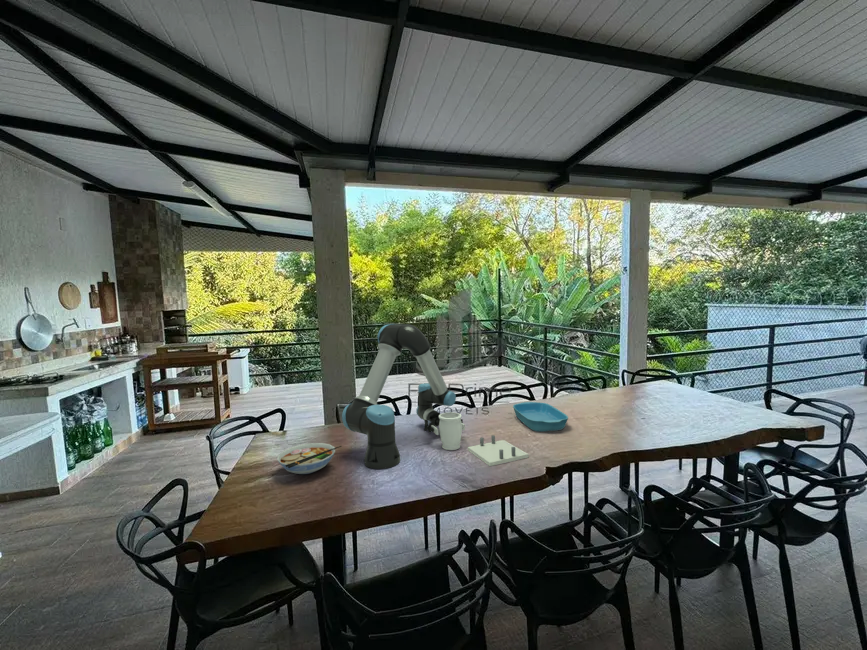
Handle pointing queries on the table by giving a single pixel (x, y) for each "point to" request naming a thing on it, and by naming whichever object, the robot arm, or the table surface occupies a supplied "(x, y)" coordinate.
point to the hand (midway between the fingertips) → (451, 429)
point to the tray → (497, 452)
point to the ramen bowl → (306, 457)
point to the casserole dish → (540, 416)
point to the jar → (450, 430)
